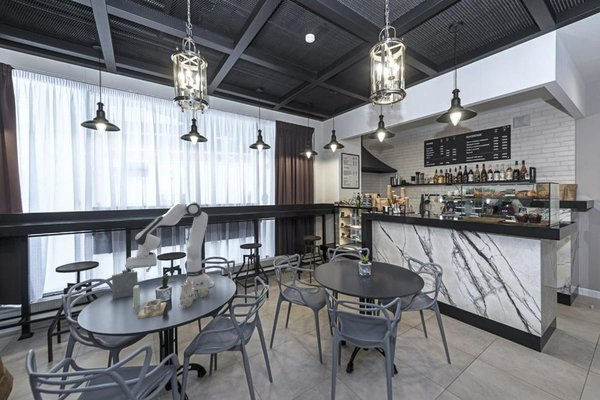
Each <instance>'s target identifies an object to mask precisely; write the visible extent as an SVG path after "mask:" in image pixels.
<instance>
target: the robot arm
mask: <svg viewBox="0 0 600 400" xmlns="http://www.w3.org/2000/svg"><path fill="white" fill-rule="evenodd" d="M185 215H190V216H192V217H193V222H192V225H191V229H190V234H189V237H188V240H187V245H186V249H185V250H186V270H185V271H186V273H185V274H186V276H185V277H186V280H187V279H189V280H190V281H195V283H196V285H195V288H194V282H193V283H192V288H194V289H193V290H194V292H195V291H199V289H204V288H208V289H210V288H212V287H214V286H215V282H214V281H213V280H212V279H211V276H209V274H206V273H205V269H204V268H202V246H203V241H204V238H205V235H206V234H205V233H206V229H207V225H208V221H209V220H208V219H209V216H208V214H207V213H206V212H204V211H202V208H201V206H200V204H199V203H198V202H196V201H190V202H188V203H186V204H184V203H181V202H177V203H175V204H174V205H173V206H171V208H170V209H169V210H168V211H167V212H166V213H165V214H163V215H159V216H157V217H156V218H154V220H152V222H150V223H149V224H148V225H147V226H146V227H145V228H144V229H143V230H141V231H140V232H138V233H137V234H136V235H135V237H134V241H135V244H137V245H138V247H137V251H136V256H129V257H127V258H126V259H125V260H126V262H125V265H124V267H125V270H130V272H131V273H134V272H135V270H134V269H140V268H141V269H142V268H146V269H145V271H146V273H149V272H150V270H151V269H152V267H156V266H157V265H158V260H157V254H156V253H155V252H154V251H155V250H156V249H159V248H160V247H161V244H162V239H161V238H160V237H158V236H156V235H153V234H151V233H152V232H153V231H154V230H156V228H157V227H160V226H175V225H176V224H178V223H179V221H180V220H181V219H182V218H183V217H184V216H185Z"/></svg>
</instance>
